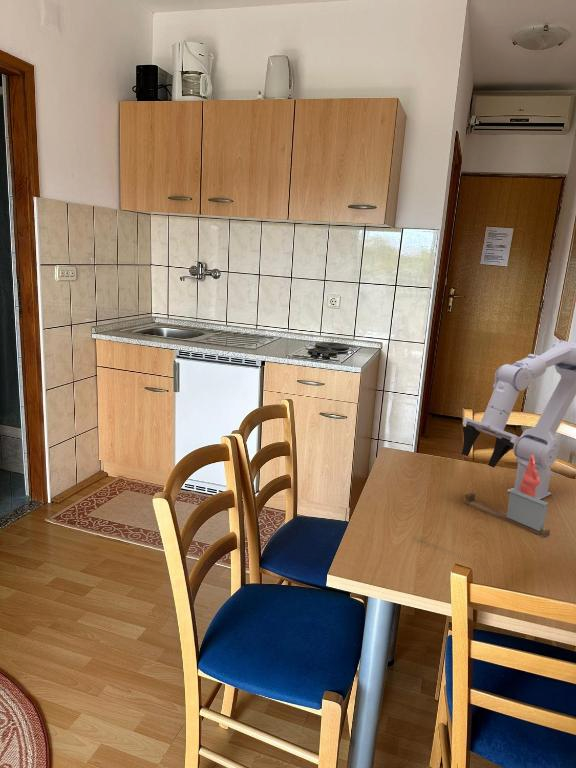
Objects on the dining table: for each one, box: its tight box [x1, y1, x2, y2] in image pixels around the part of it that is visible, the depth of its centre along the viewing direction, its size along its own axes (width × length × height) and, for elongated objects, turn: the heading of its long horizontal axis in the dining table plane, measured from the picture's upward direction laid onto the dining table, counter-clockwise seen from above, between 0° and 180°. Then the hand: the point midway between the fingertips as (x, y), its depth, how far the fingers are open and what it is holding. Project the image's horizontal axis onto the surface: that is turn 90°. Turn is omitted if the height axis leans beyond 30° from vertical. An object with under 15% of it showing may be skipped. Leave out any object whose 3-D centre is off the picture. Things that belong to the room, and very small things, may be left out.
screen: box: [506, 490, 549, 531], centre depth 131 cm, size 2×9×7 cm, turn 38°
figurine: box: [519, 455, 540, 498], centre depth 139 cm, size 5×5×15 cm
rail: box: [464, 491, 551, 539], centre depth 135 cm, size 3×21×2 cm, turn 38°
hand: (477, 460), depth 136 cm, fingers open, 7 cm apart
